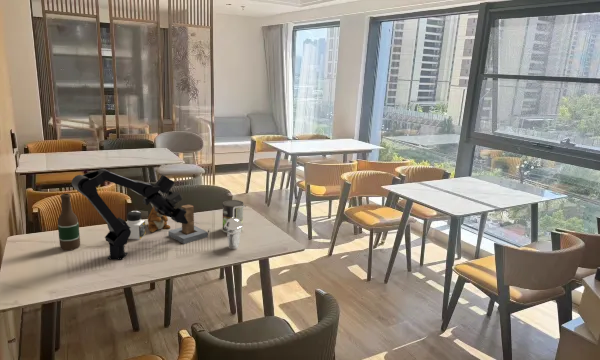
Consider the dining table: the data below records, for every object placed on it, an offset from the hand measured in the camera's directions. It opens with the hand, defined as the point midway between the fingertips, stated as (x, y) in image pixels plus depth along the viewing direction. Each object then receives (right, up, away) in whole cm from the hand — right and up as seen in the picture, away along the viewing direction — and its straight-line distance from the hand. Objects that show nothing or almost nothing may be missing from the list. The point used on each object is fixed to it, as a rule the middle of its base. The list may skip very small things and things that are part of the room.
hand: (181, 220), depth 197 cm
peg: (+2, -8, +5) cm, 9 cm away
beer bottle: (-45, -11, -13) cm, 48 cm away
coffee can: (+21, -6, +15) cm, 27 cm away
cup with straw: (+25, -12, -5) cm, 28 cm away
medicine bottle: (-22, -8, +2) cm, 24 cm away
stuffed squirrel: (-16, -5, +14) cm, 22 cm away
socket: (+2, -8, +5) cm, 9 cm away
